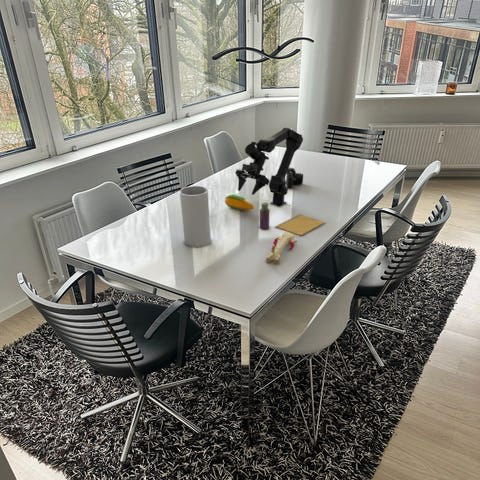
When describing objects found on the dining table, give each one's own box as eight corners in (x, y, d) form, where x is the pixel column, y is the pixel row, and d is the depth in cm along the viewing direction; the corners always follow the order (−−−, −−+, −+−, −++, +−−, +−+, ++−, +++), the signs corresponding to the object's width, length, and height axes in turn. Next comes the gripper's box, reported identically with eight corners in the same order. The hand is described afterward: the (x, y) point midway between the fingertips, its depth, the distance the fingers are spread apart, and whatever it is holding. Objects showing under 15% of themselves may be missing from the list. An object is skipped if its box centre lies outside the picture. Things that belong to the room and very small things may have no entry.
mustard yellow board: (299, 215, 242) (299, 214, 241) (324, 223, 233) (324, 222, 233) (275, 227, 230) (275, 226, 230) (301, 235, 221) (301, 235, 221)
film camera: (308, 188, 276) (309, 171, 270) (288, 190, 273) (289, 173, 268) (297, 179, 290) (298, 163, 284) (279, 180, 288) (279, 165, 282)
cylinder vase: (200, 249, 211) (196, 197, 197) (179, 243, 217) (173, 192, 202) (215, 239, 220) (213, 188, 205) (195, 234, 225) (190, 184, 211)
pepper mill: (263, 224, 233) (264, 201, 225) (271, 227, 230) (271, 203, 223) (257, 227, 230) (257, 204, 223) (265, 230, 227) (265, 206, 220)
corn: (229, 190, 253) (258, 197, 243) (231, 203, 258) (258, 211, 247) (221, 194, 249) (249, 202, 238) (222, 207, 254) (250, 216, 243)
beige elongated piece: (282, 267, 198) (300, 240, 215) (283, 250, 192) (301, 223, 210) (261, 263, 201) (280, 236, 219) (261, 246, 196) (280, 220, 213)
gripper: (235, 153, 228) (223, 182, 229) (264, 159, 218) (251, 190, 219) (247, 163, 237) (235, 191, 238) (275, 169, 227) (262, 199, 228)
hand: (245, 192), depth 231 cm, fingers open, 9 cm apart
